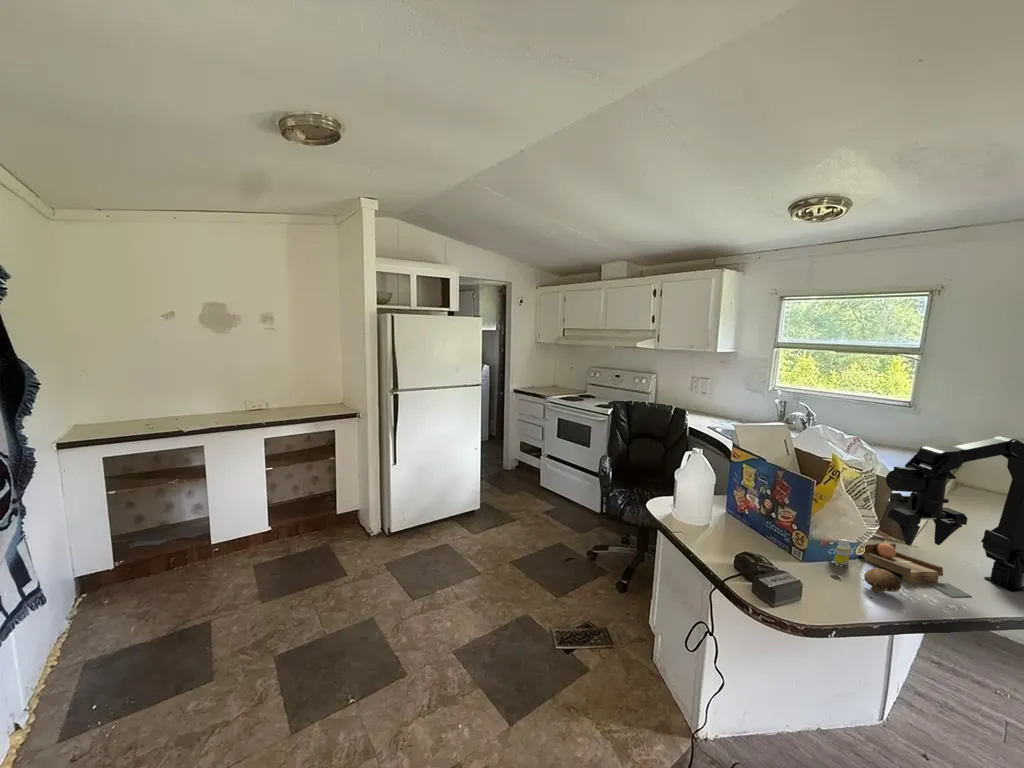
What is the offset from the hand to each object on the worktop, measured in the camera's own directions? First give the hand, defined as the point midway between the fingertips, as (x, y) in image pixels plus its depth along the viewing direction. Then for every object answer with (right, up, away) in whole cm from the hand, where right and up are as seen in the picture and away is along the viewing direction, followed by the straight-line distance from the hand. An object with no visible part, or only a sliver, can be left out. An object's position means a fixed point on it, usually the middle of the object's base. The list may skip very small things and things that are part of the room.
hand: (922, 544), depth 122 cm
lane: (-1, -10, +6) cm, 12 cm away
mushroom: (-17, -11, -6) cm, 21 cm away
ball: (-1, -6, +13) cm, 14 cm away
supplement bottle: (-17, -10, +9) cm, 22 cm away
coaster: (+4, -11, -4) cm, 13 cm away
